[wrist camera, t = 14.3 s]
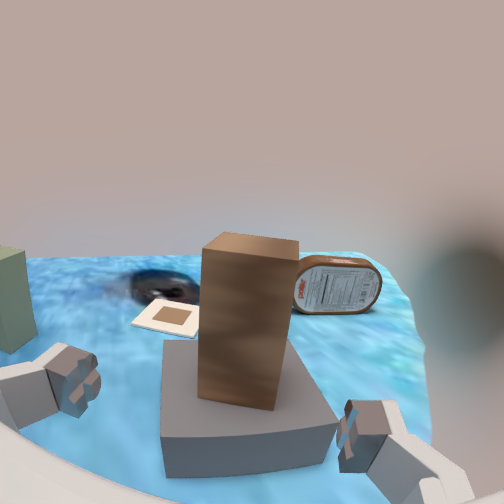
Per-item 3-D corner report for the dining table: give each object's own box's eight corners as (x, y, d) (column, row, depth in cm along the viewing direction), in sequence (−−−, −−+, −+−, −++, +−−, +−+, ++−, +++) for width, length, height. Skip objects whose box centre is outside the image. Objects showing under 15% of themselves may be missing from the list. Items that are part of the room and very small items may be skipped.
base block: (167, 480, 16) (160, 436, 15) (165, 384, 26) (163, 339, 25) (321, 465, 19) (339, 421, 17) (280, 381, 29) (288, 338, 28)
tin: (368, 307, 48) (379, 257, 46) (377, 315, 45) (390, 263, 43) (280, 307, 45) (287, 251, 43) (285, 317, 42) (294, 258, 40)
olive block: (-14, 340, 24) (-32, 256, 22) (12, 323, 29) (-1, 245, 27) (10, 354, 24) (-9, 263, 21) (37, 334, 29) (24, 250, 26)
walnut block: (197, 397, 19) (202, 247, 16) (215, 358, 24) (223, 231, 21) (273, 410, 18) (299, 260, 16) (279, 368, 23) (298, 241, 21)
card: (130, 325, 35) (130, 322, 35) (155, 300, 43) (155, 297, 43) (193, 338, 34) (193, 335, 34) (210, 310, 42) (210, 307, 42)
